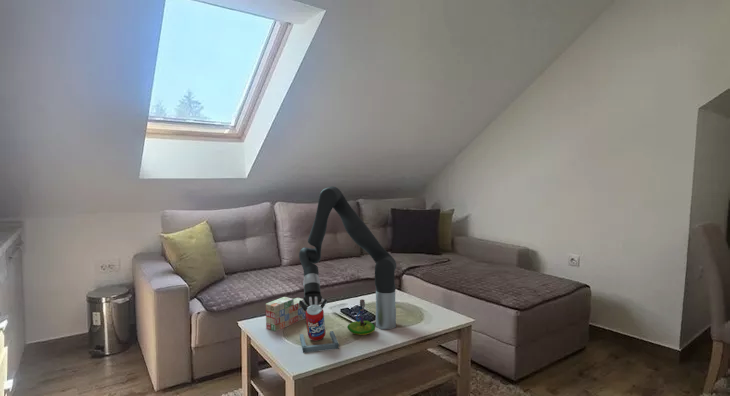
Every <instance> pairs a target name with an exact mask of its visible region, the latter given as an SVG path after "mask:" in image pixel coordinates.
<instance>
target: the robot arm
mask: <svg viewBox="0 0 730 396" xmlns="http://www.w3.org/2000/svg"><path fill="white" fill-rule="evenodd" d="M318 197H319V198H318V203H317V208H316V213H315V217H314V219H313V220H314V221H313V224H312V227H311V230H310V232H309V236H308V239H307V243H308V244H309V245H310V246H312V247H314V248H309V247H302V248H301V249H300V250H299V253H298V258H299V261H300V265H301V266H302V267H301V268H302V270H303V292H304V293H303V298H302V299H303V300H302V301H301V300H300V301H299V305H300V306H301V307H302V308H303V310H304V311H305V312H306V310H307V308H308V307H309V306H311V305H315V304H316V305H319V304H320V306H321V308H322V309H323V310H324V308H325V306H326V305H327V302H328V300H327V299H326V298H325V299H324V298H323V296H322V294H321V282H320V276H319V266H318V265H316V264H318V263H319V262H320V261H321V259H322V257H321V256H322V245H323V241H324V238H325V236H326V232H327V225H328V219H329V218H330V217H329V216H330V214H331V212H332V209H333V210H334V211H335V212H336V213H337V214H338V216H339V217H340V220H341V222H342V224H343V227H344V229H345V231H346V233H347V234H348V236H349V237H350V238H351V239H352V240H353V242H354V243H356V245H357V246H359V247H360V248H361V249H362V250H364V251H365V252H366V253H367V254H368V255H369V256H370V257H371V258H372V260H373V261H374V263H375V264H374V265H375V266H374V286H375V328H378V329H381V330H391V329H396V328H397V307H396V284H395V271H396V270H397V262H396V260H395V258H394V257H393V256H392V255H391V254H390V253H389V252H388V251H387V250H386V249H385V248H384V246H382V245H381V244H380V242H379V240H378V238H376V236H375V235H374V233H373V232H372V231H371V230H370V229H369V227H368V226H367V224H366V223H365V222H364V221H363V219H362V218H361V217H360V216H359V215H358V214H357V212H356V211H355V210H354V209H353V208H352V206H351V204H350V203H349V201H348V200H347V199H346V197H345V196H344V194H343V193H342V191H341V189H339V188H338V187H336V186H328V187H325V188H323V189H322V190H321V192H319V196H318ZM305 303H306V305H305Z"/></svg>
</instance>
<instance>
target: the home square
mask: <svg viewBox="0 0 730 396" xmlns="http://www.w3.org/2000/svg"><path fill="white" fill-rule="evenodd" d="M304 336H305V335H304V334H303V333H300V334H299V341H300V344H301V348H302V349H301V350H302V353H312V352H313V353H314V352H320V351H321V352H322V351H328V350H329V351H330V350H339V349H340V343H339V341H338V339H337V337H336V333H335V332H334V330H331V331H329V336H330V340H331V343H323V344H321V343H319V344H313V345H307V344H306V340H305V337H304Z"/></svg>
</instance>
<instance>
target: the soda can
mask: <svg viewBox="0 0 730 396" xmlns="http://www.w3.org/2000/svg"><path fill="white" fill-rule="evenodd" d="M307 307H308V308H307V310H306V313H305V315H306V318H305V320H306V321H305V322H306V323H305V324H306V329H307V330H306V333H307V337H308V338H309V339H310V340H311V341H315V342H316V341H320V340H323V339H324V338H325V336H326V325H325V313H324V308H323V309H322V308H321V305H319V304H318V305H316V304H315V305H311V306H307Z"/></svg>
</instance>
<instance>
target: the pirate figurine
mask: <svg viewBox="0 0 730 396" xmlns="http://www.w3.org/2000/svg"><path fill="white" fill-rule="evenodd" d="M365 302H366V301H365V299H359V306H358V311H359V312H356V314H355V315H356V318H355V320H356V321H353V322H350V323H349V324H347V327H346V328H347V330H348V331H349V332H350V333H352V334H353V335H361V336H366V335H368V334H369V335H370V334H372V333H373V332H375V330H376V324H374V323H372V322H371V321H370V320H364V318H363V313H364V310H365V307H366V303H365ZM358 317H359V319H358Z"/></svg>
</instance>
